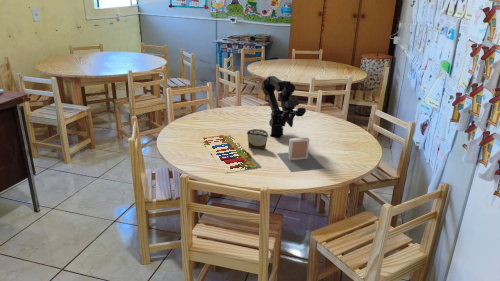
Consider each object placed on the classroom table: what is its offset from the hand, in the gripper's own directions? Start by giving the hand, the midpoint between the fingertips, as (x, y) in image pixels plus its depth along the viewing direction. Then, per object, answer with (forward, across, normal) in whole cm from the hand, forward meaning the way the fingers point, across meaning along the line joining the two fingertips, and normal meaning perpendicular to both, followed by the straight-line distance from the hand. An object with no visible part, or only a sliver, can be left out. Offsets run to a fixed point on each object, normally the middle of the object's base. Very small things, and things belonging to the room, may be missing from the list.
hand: (291, 126), depth 194 cm
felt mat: (+20, 0, -1) cm, 20 cm away
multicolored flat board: (+8, -34, +13) cm, 37 cm away
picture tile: (+18, 0, +1) cm, 18 cm away
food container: (+5, -16, +15) cm, 22 cm away
